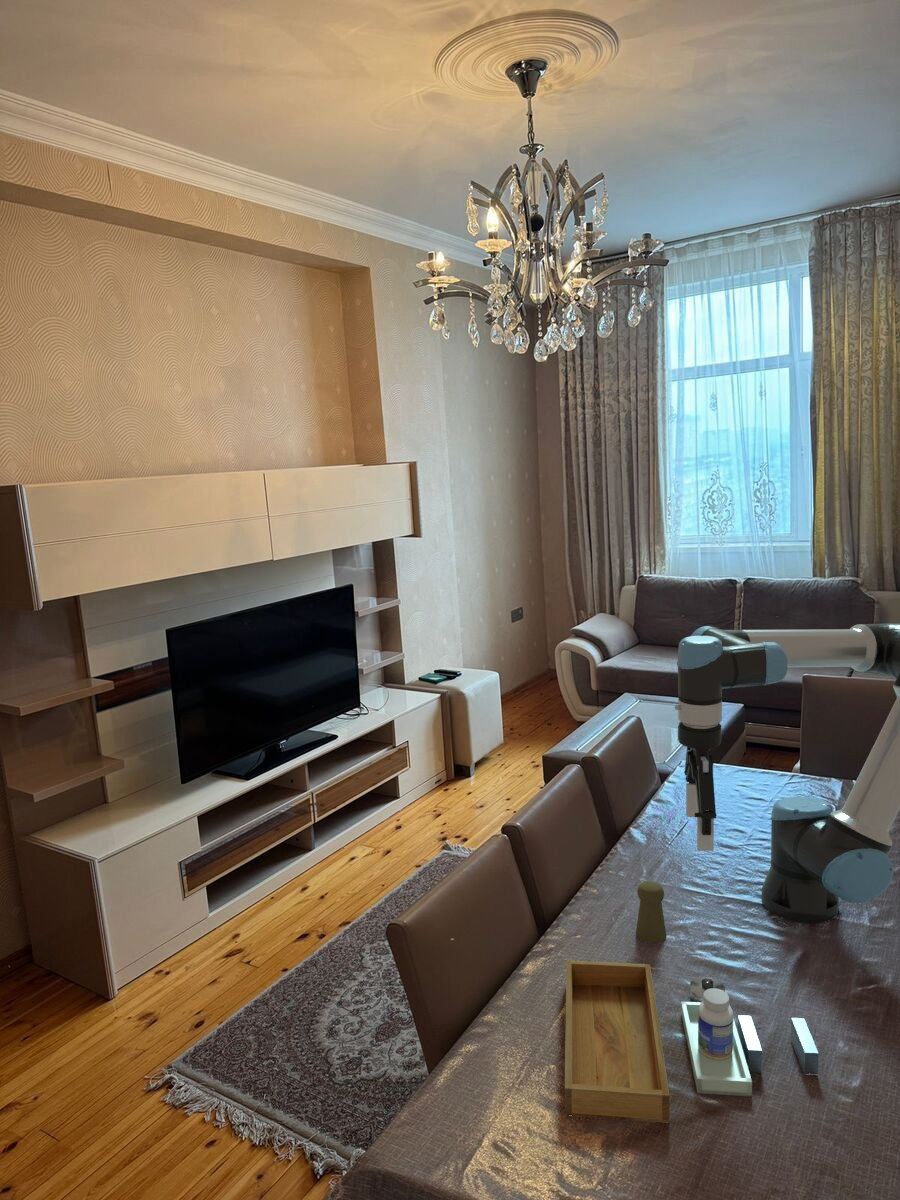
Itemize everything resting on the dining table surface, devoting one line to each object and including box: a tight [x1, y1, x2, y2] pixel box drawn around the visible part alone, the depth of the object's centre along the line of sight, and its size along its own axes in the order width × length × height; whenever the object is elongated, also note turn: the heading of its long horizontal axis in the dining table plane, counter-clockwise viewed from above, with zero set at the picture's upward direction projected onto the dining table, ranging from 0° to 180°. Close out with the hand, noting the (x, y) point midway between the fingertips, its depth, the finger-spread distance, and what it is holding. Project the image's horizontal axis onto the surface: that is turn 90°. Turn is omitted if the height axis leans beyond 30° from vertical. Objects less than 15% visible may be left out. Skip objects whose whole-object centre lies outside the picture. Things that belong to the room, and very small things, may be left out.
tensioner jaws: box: [737, 1015, 820, 1075], centre depth 133 cm, size 10×8×4 cm
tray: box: [564, 960, 671, 1124], centre depth 137 cm, size 31×15×6 cm, turn 172°
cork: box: [635, 880, 667, 944], centre depth 167 cm, size 6×6×11 cm
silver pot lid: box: [689, 976, 726, 1002], centre depth 148 cm, size 6×6×3 cm
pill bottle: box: [698, 988, 734, 1060], centre depth 134 cm, size 5×5×10 cm
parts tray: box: [680, 1001, 753, 1097], centre depth 135 cm, size 8×18×2 cm, turn 172°
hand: (699, 832), depth 154 cm, fingers open, 13 cm apart
